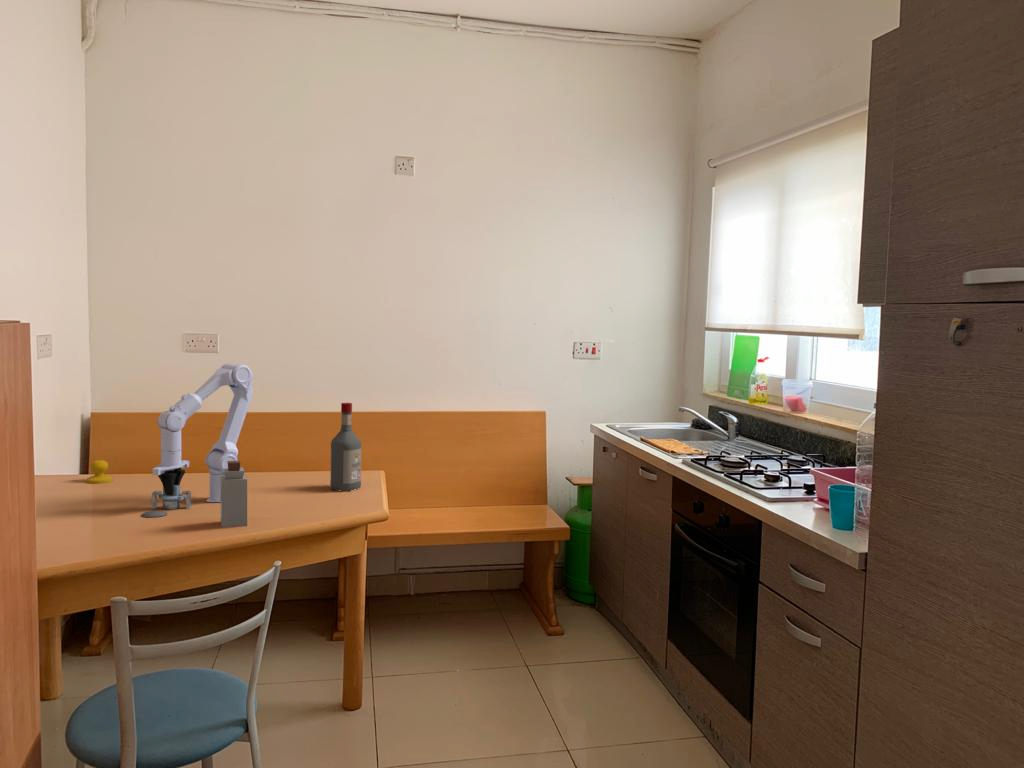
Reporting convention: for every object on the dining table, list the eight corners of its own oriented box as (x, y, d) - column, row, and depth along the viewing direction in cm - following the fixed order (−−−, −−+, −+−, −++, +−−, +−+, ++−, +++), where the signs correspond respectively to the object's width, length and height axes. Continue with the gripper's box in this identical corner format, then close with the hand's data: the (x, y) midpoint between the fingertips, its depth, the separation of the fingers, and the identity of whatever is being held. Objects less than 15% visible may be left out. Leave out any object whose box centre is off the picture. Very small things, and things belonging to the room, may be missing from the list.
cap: (188, 497, 243) (188, 484, 243) (177, 501, 238) (176, 488, 238) (166, 495, 245) (166, 482, 245) (154, 499, 240) (153, 486, 239)
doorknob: (117, 480, 277) (96, 484, 270) (102, 478, 280) (81, 481, 273) (117, 459, 276) (96, 463, 269) (101, 457, 280) (81, 460, 273)
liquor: (364, 487, 278) (365, 403, 275) (347, 492, 269) (348, 405, 267) (343, 484, 282) (344, 401, 279) (326, 489, 274) (327, 403, 271)
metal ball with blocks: (191, 505, 245) (191, 489, 245) (188, 509, 240) (188, 493, 240) (154, 506, 243) (154, 490, 243) (150, 510, 238) (150, 494, 238)
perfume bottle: (220, 521, 228) (220, 460, 227) (245, 519, 231) (245, 459, 229) (221, 527, 222) (221, 464, 220) (247, 525, 225) (247, 463, 223)
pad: (170, 511, 238) (170, 510, 238) (164, 517, 231) (164, 516, 231) (145, 511, 236) (145, 510, 236) (138, 517, 229) (138, 516, 229)
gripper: (175, 445, 248) (175, 488, 249) (143, 453, 234) (143, 498, 235) (194, 447, 247) (195, 490, 248) (164, 454, 233) (164, 500, 234)
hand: (171, 494), depth 241 cm, fingers closed on cap, 2 cm apart
